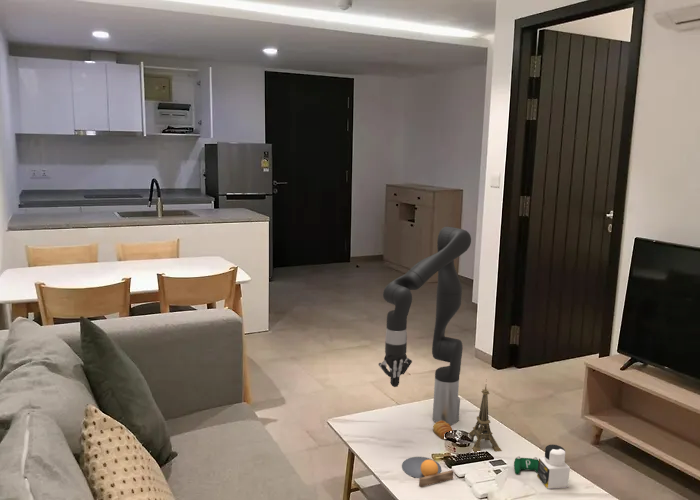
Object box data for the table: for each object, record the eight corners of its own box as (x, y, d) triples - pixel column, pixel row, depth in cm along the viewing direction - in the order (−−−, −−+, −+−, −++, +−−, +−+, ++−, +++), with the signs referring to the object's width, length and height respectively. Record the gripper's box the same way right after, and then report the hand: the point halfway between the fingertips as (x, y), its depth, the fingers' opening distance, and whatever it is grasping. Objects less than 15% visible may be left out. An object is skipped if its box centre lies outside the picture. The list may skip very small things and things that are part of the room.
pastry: (457, 440, 215) (457, 430, 214) (439, 442, 213) (440, 432, 212) (447, 428, 224) (448, 418, 223) (430, 429, 222) (431, 420, 221)
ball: (430, 458, 194) (438, 457, 190) (435, 476, 193) (443, 475, 188) (415, 462, 192) (423, 461, 187) (420, 480, 190) (427, 479, 186)
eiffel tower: (501, 451, 208) (507, 384, 203) (473, 453, 205) (478, 386, 201) (489, 436, 218) (493, 372, 213) (462, 438, 216) (466, 374, 211)
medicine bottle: (536, 476, 192) (539, 442, 190) (557, 475, 193) (560, 441, 191) (547, 489, 185) (550, 454, 183) (568, 487, 186) (571, 452, 184)
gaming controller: (541, 478, 195) (539, 459, 198) (544, 475, 192) (541, 456, 195) (513, 476, 195) (511, 458, 199) (515, 473, 192) (513, 454, 196)
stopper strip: (451, 477, 190) (451, 470, 190) (452, 478, 190) (453, 471, 189) (419, 485, 186) (419, 478, 185) (420, 487, 185) (421, 479, 184)
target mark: (427, 454, 204) (428, 453, 204) (449, 473, 192) (449, 473, 192) (394, 461, 199) (394, 461, 199) (414, 482, 187) (414, 481, 187)
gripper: (406, 334, 214) (405, 378, 217) (374, 339, 208) (373, 385, 212) (417, 341, 207) (416, 387, 211) (384, 346, 202) (383, 393, 205)
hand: (394, 386), depth 211 cm, fingers closed
